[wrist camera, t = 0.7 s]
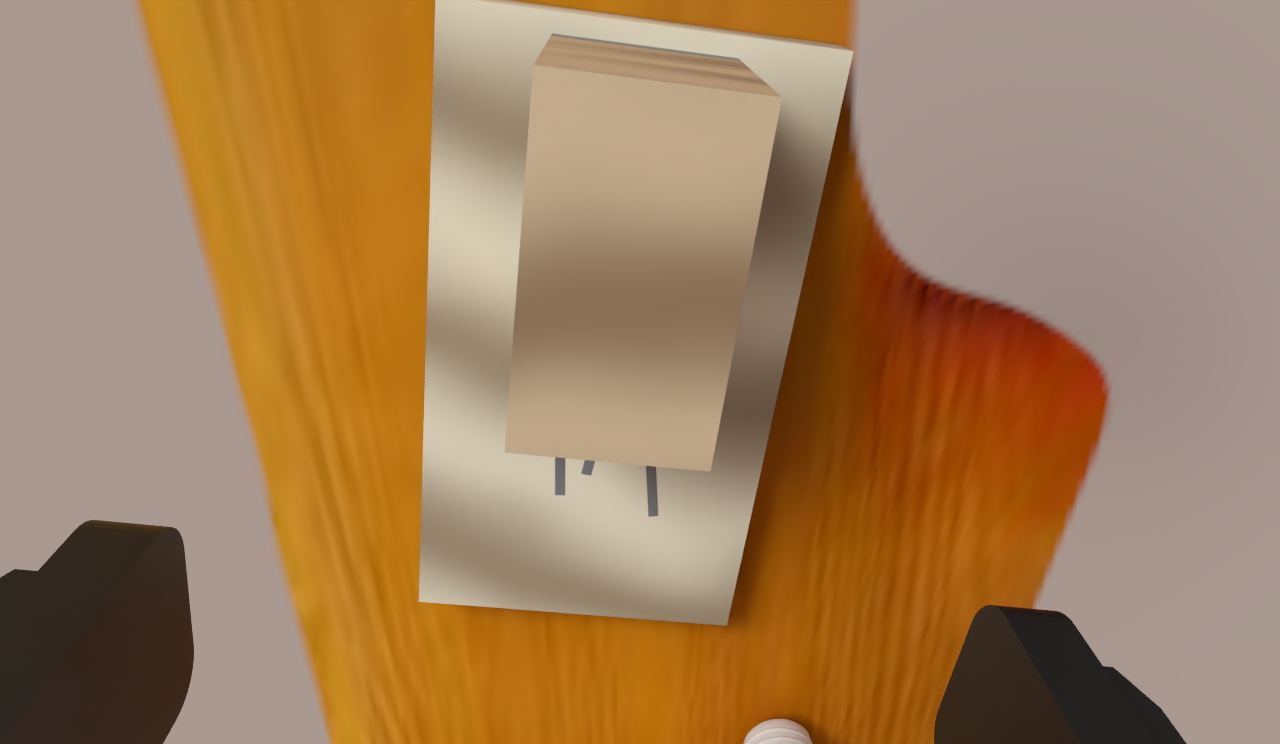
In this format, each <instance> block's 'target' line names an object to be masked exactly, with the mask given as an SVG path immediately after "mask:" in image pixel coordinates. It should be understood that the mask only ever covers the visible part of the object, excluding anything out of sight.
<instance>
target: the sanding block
mask: <svg viewBox="0 0 1280 744" xmlns="http://www.w3.org/2000/svg"><path fill="white" fill-rule="evenodd" d="M781 101H782V97H781V96H780V95H779V94H778V93H777V92H775V91H774V90H773V89H772V88H771V87H770V86H769V85H768V84H767V83H765V82H764V81H763V80H762V79H761V78H760V77H759V76H758V75H756V74H755V73H754V72H753V71H752V70H751V69H750V68H749V67H748V66H746V65H745V64H744V63H743V62H742V61H741V60H740V59H739V58H733V57H725V56H718V55H710V54H703V53H695V52H688V51H680V50H673V49H665V48H658V47H650V46H643V45H635V44H628V43H620V42H613V41H606V40H598V39H591V38H583V37H576V36H568V35H561V34H553V33H552V34H551V36H550V38H549V39H548V41H547V43H546V44H545V46H544V48H543V49H542V51H541V53H540V54H539V56H538V58H537V59H536V61H535V63H534V64H533V74H532V88H531V101H530V115H529V128H528V142H527V155H526V169H525V182H524V196H523V210H522V223H521V237H520V250H519V264H518V277H517V291H516V304H515V318H514V331H513V345H512V359H511V372H510V386H509V399H508V413H507V426H506V440H505V453H515V454H526V455H537V456H547V457H558V458H569V459H580V460H590V461H601V462H612V463H622V464H633V465H644V466H655V467H665V468H676V469H687V470H698V471H708V472H711V466H712V461H713V456H714V451H715V445H716V440H717V435H718V430H719V425H720V419H721V414H722V409H723V404H724V398H725V393H726V388H727V383H728V378H729V372H730V367H731V362H732V357H733V352H734V346H735V341H736V336H737V331H738V325H739V320H740V315H741V310H742V305H743V299H744V294H745V289H746V284H747V278H748V273H749V268H750V263H751V258H752V252H753V247H754V242H755V237H756V231H757V226H758V221H759V216H760V211H761V205H762V200H763V195H764V190H765V184H766V179H767V174H768V169H769V164H770V158H771V153H772V148H773V143H774V138H775V132H776V127H777V122H778V117H779V111H780V106H781Z"/></svg>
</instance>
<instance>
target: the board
mask: <svg viewBox="0 0 1280 744" xmlns="http://www.w3.org/2000/svg"><path fill="white" fill-rule="evenodd" d="M552 33H553V34H561V35H568V36H576V37H583V38H591V39H598V40H606V41H613V42H620V43H628V44H635V45H643V46H650V47H658V48H665V49H673V50H680V51H688V52H695V53H703V54H710V55H718V56H725V57H733V58H739V59H740V60H741V61H742V62H743V63H744V64H745V65H746V66H748V67H749V68H750V69H751V70H752V71H753V72H754V73H755V74H756V75H758V76H759V77H760V78H761V79H762V80H763V81H764V82H765V83H767V84H768V85H769V86H770V87H771V88H772V89H773V90H774V91H775V92H777V93H778V94H779V95H780V96H781V97H782V101H781V106H780V111H779V117H778V122H777V127H776V132H775V138H774V143H773V148H772V153H771V158H770V164H769V169H768V174H767V179H766V184H765V190H764V195H763V200H762V205H761V211H760V216H759V221H758V226H757V231H756V237H755V242H754V247H753V252H752V258H751V263H750V268H749V273H748V278H747V284H746V289H745V294H744V299H743V305H742V310H741V315H740V320H739V325H738V331H737V336H736V341H735V346H734V352H733V357H732V362H731V367H730V372H729V378H728V383H727V388H726V393H725V398H724V404H723V409H722V414H721V419H720V425H719V430H718V435H717V440H716V445H715V451H714V456H713V461H712V466H711V472H708V471H698V470H687V469H676V468H665V467H655V466H644V465H633V464H622V463H612V462H601V461H590V460H580V459H569V458H558V457H547V456H537V455H526V454H515V453H505V440H506V426H507V413H508V399H509V386H510V372H511V359H512V345H513V331H514V318H515V304H516V291H517V277H518V264H519V250H520V237H521V223H522V210H523V196H524V182H525V169H526V155H527V142H528V128H529V115H530V101H531V88H532V74H533V64H534V63H535V61H536V59H537V58H538V56H539V54H540V53H541V51H542V49H543V48H544V46H545V44H546V43H547V41H548V39H549V38H550V36H551V34H552ZM852 56H853V51H851V50H849V49H847V48H845V47H842V46H840V45H836V44H828V43H821V42H814V41H806V40H799V39H792V38H784V37H777V36H770V35H762V34H755V33H748V32H740V31H733V30H726V29H718V28H711V27H704V26H696V25H689V24H682V23H674V22H667V21H660V20H652V19H645V18H638V17H630V16H623V15H616V14H608V13H601V12H594V11H586V10H579V9H572V8H564V7H557V6H550V5H542V4H535V3H528V2H520V1H513V0H435V35H434V72H433V108H432V144H431V180H430V216H429V253H428V289H427V325H426V361H425V398H424V434H423V470H422V506H421V542H420V579H419V602H431V603H443V604H456V605H469V606H482V607H494V608H507V609H520V610H533V611H545V612H558V613H571V614H584V615H597V616H609V617H622V618H635V619H648V620H660V621H673V622H686V623H699V624H711V625H724V626H727V623H728V618H729V614H730V609H731V605H732V600H733V596H734V591H735V586H736V582H737V577H738V573H739V568H740V564H741V559H742V555H743V550H744V546H745V541H746V537H747V532H748V528H749V523H750V519H751V514H752V509H753V505H754V500H755V496H756V491H757V487H758V482H759V478H760V473H761V469H762V464H763V460H764V455H765V451H766V446H767V442H768V437H769V432H770V428H771V423H772V419H773V414H774V410H775V405H776V401H777V396H778V392H779V387H780V383H781V378H782V374H783V369H784V365H785V360H786V355H787V351H788V346H789V342H790V337H791V333H792V328H793V324H794V319H795V315H796V310H797V306H798V301H799V297H800V292H801V287H802V283H803V278H804V274H805V269H806V265H807V260H808V256H809V251H810V247H811V242H812V238H813V233H814V229H815V224H816V220H817V215H818V210H819V206H820V201H821V197H822V192H823V188H824V183H825V179H826V174H827V170H828V165H829V161H830V156H831V152H832V147H833V143H834V138H835V133H836V129H837V124H838V120H839V115H840V111H841V106H842V102H843V97H844V93H845V88H846V84H847V79H848V75H849V70H850V66H851V61H852Z"/></svg>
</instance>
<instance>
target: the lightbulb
mask: <svg viewBox="0 0 1280 744" xmlns="http://www.w3.org/2000/svg"><path fill="white" fill-rule="evenodd" d="M744 744H812V742H811V738H810V736H809V733H808V732H807V730H806V729H805V728H804V727H803V726H801V725H800V724H798V723H796V722H794V721H791V720H788V719H770V720H767V721H764V722H762V723H759V724H758V725H756V726H755V727H754V728H753V729H752V730H751V731H750V732H749V733H748V735H747V736H746V738H745V740H744Z"/></svg>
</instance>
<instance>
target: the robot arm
mask: <svg viewBox="0 0 1280 744" xmlns="http://www.w3.org/2000/svg"><path fill="white" fill-rule="evenodd" d="M193 660H194V644H193V634H192V624H191V613H190V604H189V593H188V583H187V572H186V562H185V552H184V544H183V540H182V537H181V535H180V533H179V531H178V530H177V529H175V528H173V527H164V526H153V525H142V524H132V523H120V522H110V521H99V520H90V521H87V522H85V523H83V524H82V525H80V526H79V527H78V528H77V529H76V530H75V531H74V532H73V533H72V534H71V535H70V536H69V537H68V538H67V540H66V541H65V542H64V543H63V544H62V545H61V546H60V547H59V548H58V549H57V551H56V552H55V553H54V554H53V555H52V556H51V557H50V558H49V559H48V561H47V562H46V563H45V564H44V565H43V566H42V567H41V568H40V569H39V571H30V570H18V569H15V570H13V571H11V572H9V573H7V574H6V575H4V576H2V577H1V578H0V744H163V742H164V741H165V739H166V737H167V735H168V734H169V732H170V730H171V728H172V726H173V725H174V723H175V721H176V719H177V717H178V715H179V713H180V711H181V709H182V706H183V704H184V701H185V698H186V695H187V692H188V688H189V684H190V680H191V675H192V669H193ZM934 744H1186V743H1185V741H1184V740H1183V738H1182V737H1181V736H1180V734H1179V733H1178V731H1177V730H1176V729H1175V727H1174V726H1173V725H1172V724H1171V722H1170V720H1169V719H1168V718H1167V716H1166V715H1165V714H1164V712H1163V711H1162V709H1161V708H1159V706H1157V705H1156V704H1155V703H1154V702H1153V701H1151V700H1150V699H1149V698H1148V697H1147V696H1146V695H1145V694H1143V693H1142V692H1141V691H1140V690H1139V689H1138V688H1137V687H1135V686H1134V685H1133V684H1132V683H1131V682H1130V681H1128V680H1127V679H1126V678H1125V677H1124V676H1122V675H1121V674H1120V673H1119V672H1118V671H1116V669H1114V668H1113V667H1104V666H1102V664H1101V663H1100V662H1099V660H1098V659H1097V657H1096V656H1095V654H1094V653H1093V652H1092V650H1091V648H1090V647H1089V645H1088V644H1087V642H1086V641H1085V640H1084V638H1083V637H1082V635H1081V634H1080V632H1079V631H1078V629H1077V628H1076V626H1075V625H1074V624H1073V623H1072V621H1071V620H1070V619H1069V618H1068V617H1067V616H1066V615H1064V614H1063V613H1061V612H1057V611H1049V610H1038V609H1027V608H1016V607H1005V606H994V605H987V606H984V607H982V608H981V609H980V610H979V611H978V612H977V614H976V615H975V617H974V619H973V621H972V623H971V626H970V628H969V631H968V634H967V636H966V639H965V642H964V644H963V647H962V649H961V652H960V655H959V657H958V660H957V662H956V665H955V668H954V670H953V673H952V675H951V678H950V681H949V683H948V686H947V688H946V691H945V694H944V696H943V699H942V701H941V704H940V707H939V710H938V713H937V717H936V722H935V731H934Z"/></svg>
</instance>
